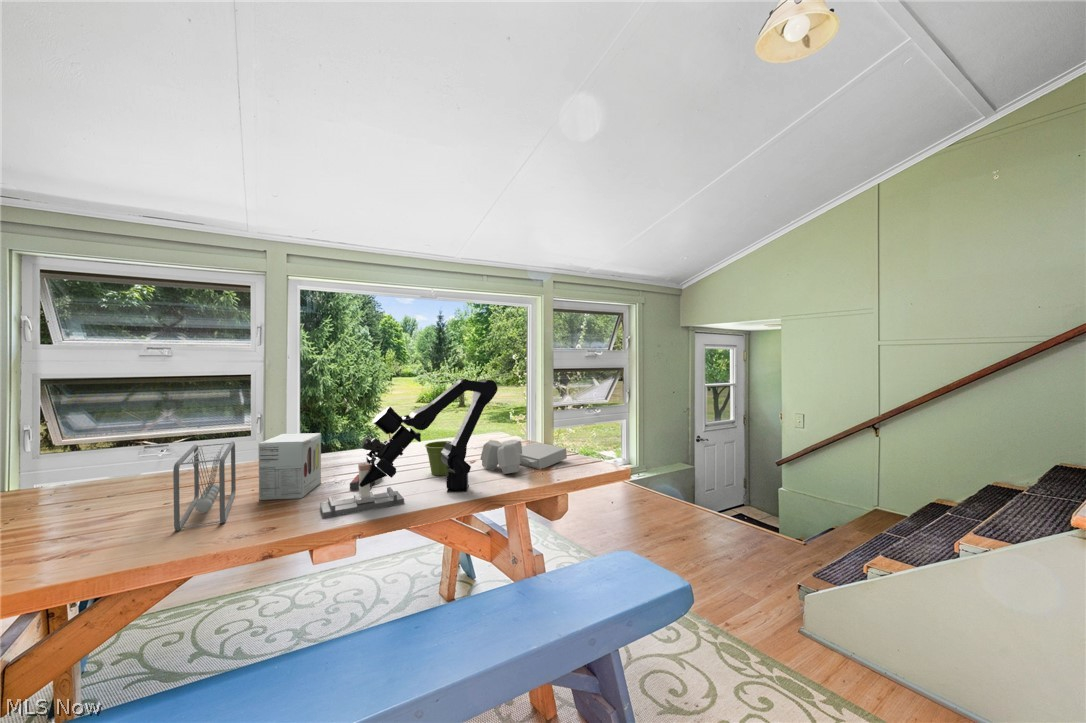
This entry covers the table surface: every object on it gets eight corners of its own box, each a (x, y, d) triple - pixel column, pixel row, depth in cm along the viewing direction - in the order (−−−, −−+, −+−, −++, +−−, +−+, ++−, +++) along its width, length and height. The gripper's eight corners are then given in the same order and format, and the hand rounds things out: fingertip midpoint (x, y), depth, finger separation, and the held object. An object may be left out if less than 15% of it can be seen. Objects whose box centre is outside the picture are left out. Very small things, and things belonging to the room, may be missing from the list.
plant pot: (432, 468, 170) (432, 440, 170) (460, 469, 169) (460, 441, 168) (419, 477, 159) (419, 446, 158) (450, 478, 157) (450, 447, 157)
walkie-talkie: (375, 491, 143) (386, 474, 163) (375, 478, 143) (386, 463, 163) (347, 493, 142) (362, 476, 161) (347, 479, 142) (361, 464, 161)
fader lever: (371, 495, 132) (371, 461, 132) (375, 501, 127) (374, 465, 127) (353, 498, 130) (353, 463, 129) (357, 504, 124) (356, 467, 124)
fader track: (397, 495, 138) (397, 486, 138) (404, 503, 130) (404, 493, 130) (320, 508, 126) (320, 498, 126) (323, 518, 119) (323, 507, 118)
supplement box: (303, 498, 135) (303, 441, 135) (257, 501, 133) (257, 443, 132) (322, 482, 152) (322, 432, 152) (282, 484, 150) (281, 433, 149)
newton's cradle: (224, 525, 114) (224, 459, 113) (173, 534, 108) (172, 464, 108) (235, 494, 139) (235, 440, 139) (194, 500, 134) (194, 443, 134)
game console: (567, 458, 180) (565, 428, 179) (510, 483, 157) (507, 449, 156) (535, 451, 194) (532, 423, 192) (478, 472, 171) (475, 441, 170)
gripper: (372, 423, 138) (334, 461, 132) (384, 431, 122) (342, 475, 117) (397, 444, 142) (362, 482, 137) (412, 455, 126) (373, 499, 121)
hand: (359, 484), depth 128 cm, fingers closed on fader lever, 3 cm apart
